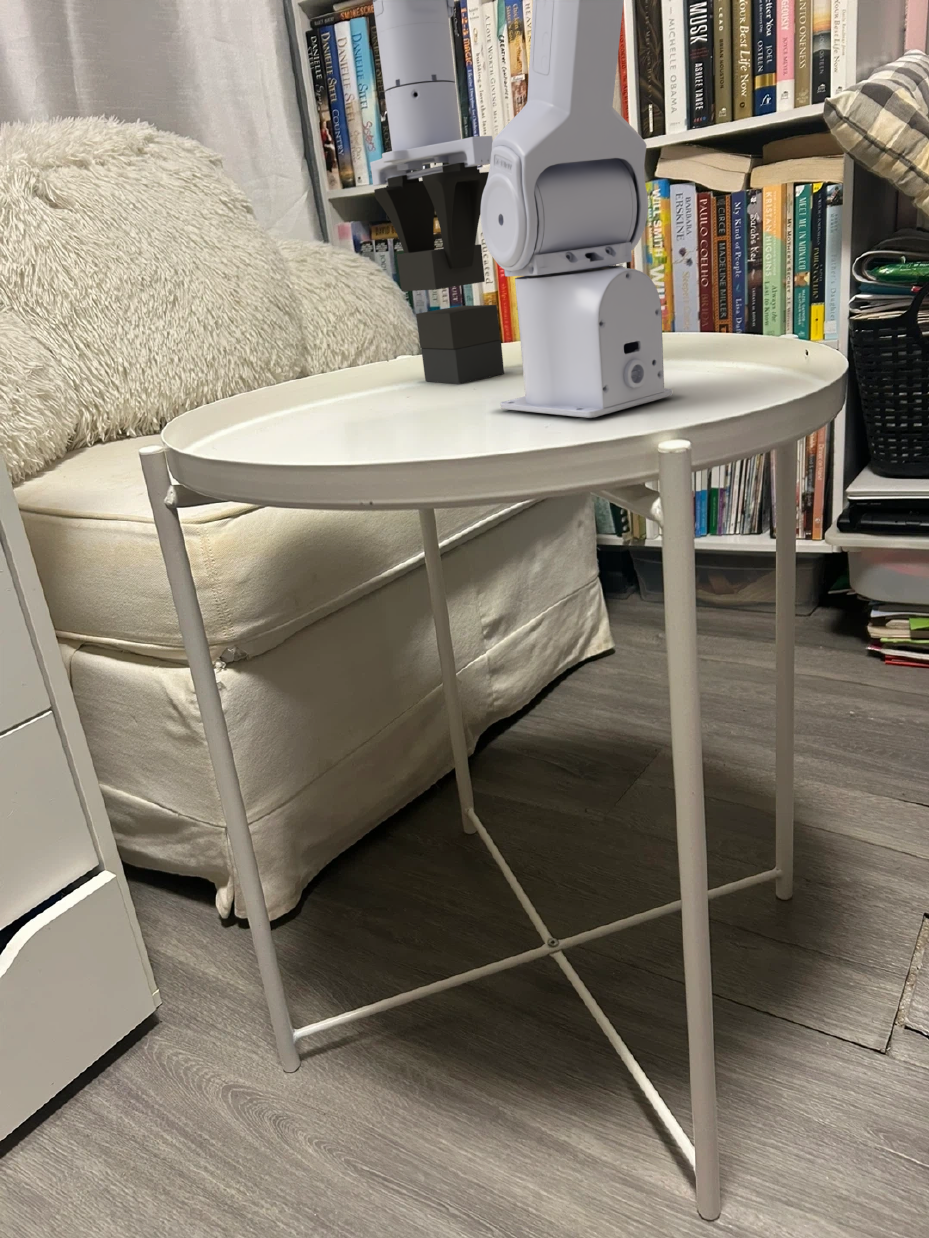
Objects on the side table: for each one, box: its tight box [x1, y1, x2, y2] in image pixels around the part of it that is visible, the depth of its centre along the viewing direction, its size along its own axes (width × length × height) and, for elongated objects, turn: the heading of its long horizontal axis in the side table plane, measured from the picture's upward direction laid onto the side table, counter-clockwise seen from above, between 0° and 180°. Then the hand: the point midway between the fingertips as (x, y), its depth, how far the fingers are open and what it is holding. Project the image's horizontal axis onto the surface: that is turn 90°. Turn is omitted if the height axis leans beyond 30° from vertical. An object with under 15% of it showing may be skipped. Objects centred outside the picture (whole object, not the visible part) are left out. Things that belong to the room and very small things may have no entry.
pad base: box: [420, 339, 505, 385], centre depth 85 cm, size 5×5×3 cm
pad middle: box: [415, 304, 501, 349], centre depth 84 cm, size 5×5×3 cm
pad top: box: [396, 243, 486, 292], centre depth 80 cm, size 5×5×3 cm
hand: (441, 269), depth 80 cm, fingers closed on pad top, 5 cm apart
